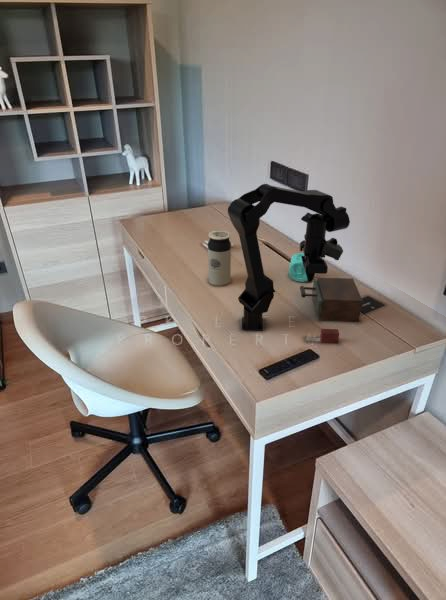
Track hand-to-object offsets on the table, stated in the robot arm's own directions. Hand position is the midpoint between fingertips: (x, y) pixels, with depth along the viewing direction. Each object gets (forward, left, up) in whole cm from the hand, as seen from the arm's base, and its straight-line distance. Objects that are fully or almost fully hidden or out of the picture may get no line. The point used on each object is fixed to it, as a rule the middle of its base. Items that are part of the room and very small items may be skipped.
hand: (309, 281), depth 134 cm
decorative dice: (+22, 0, -10) cm, 24 cm away
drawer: (0, -5, -9) cm, 10 cm away
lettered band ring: (+46, +31, -10) cm, 56 cm away
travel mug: (+17, +30, -10) cm, 36 cm away
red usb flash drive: (-18, -2, -10) cm, 21 cm away
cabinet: (0, -9, -10) cm, 14 cm away
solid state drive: (+3, -20, -10) cm, 23 cm away
